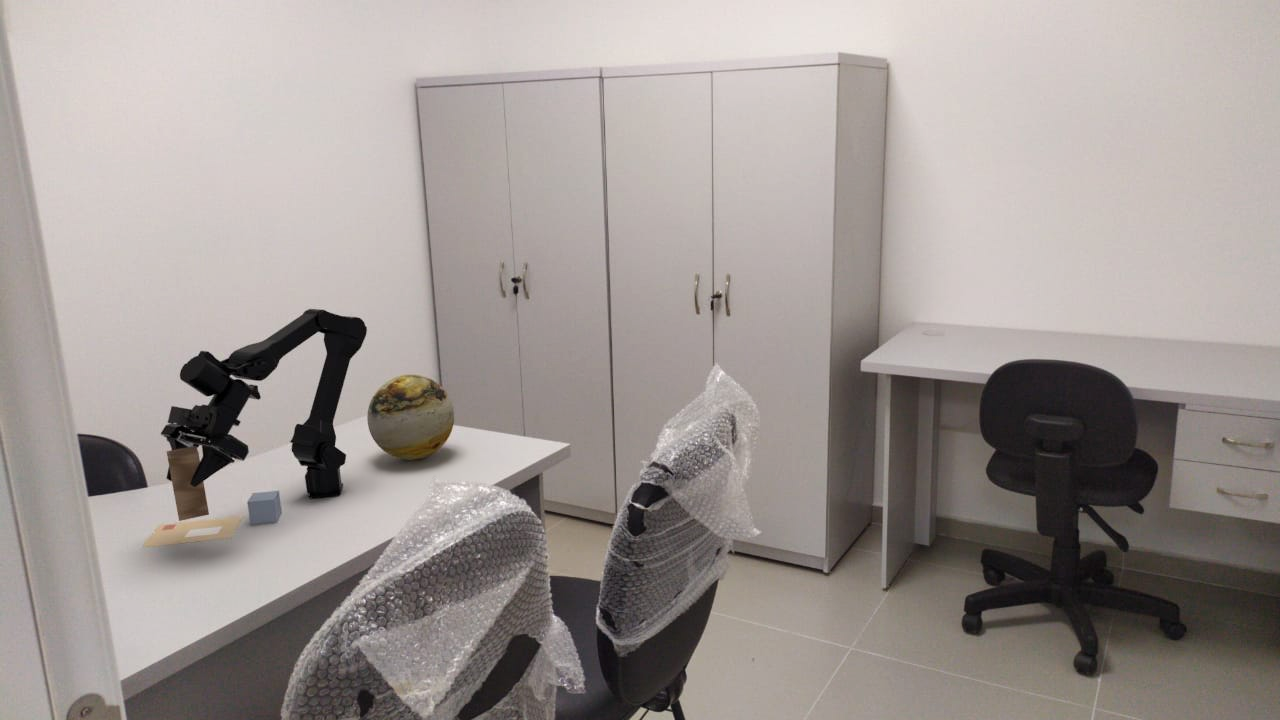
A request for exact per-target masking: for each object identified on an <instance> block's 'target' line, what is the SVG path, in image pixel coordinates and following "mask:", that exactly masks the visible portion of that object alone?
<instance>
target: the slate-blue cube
mask: <svg viewBox="0 0 1280 720" xmlns="http://www.w3.org/2000/svg"><path fill="white" fill-rule="evenodd" d="M246 504H247V509H248V518H249V524H250V526H256V525H266V524H276V523H278V522H279V520H280V518H281V516H282V514H283V511H282V505H281V497H280V490H272V491H271V490H270V491H260V492H253V493H252V494H251V495H250V497H249V498H248V500H247V503H246Z"/></svg>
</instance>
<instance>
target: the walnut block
mask: <svg viewBox="0 0 1280 720" xmlns="http://www.w3.org/2000/svg"><path fill="white" fill-rule="evenodd" d="M199 454H200V453H199V450H198V448H197V446H192V447H187V448H182V449H176V450H172V449H171V450H167V451H166V456H167V462H168V468H170V473H171V479H172V481H171V484H172V485H171V486H172V490H173V495H174V499H175V507H176V511H177V516H178V521H179V522H180V521H181V522H183V521H187V520H190V519H196V518H199V517H200V518H201V517H204V516H209V515H210V512H209V506H208V500H207V493H206V489H205V484H204V481H203V482H202V483H200V484H199V485H198V486H196V487H194V486H192V485H190V483H191V480H192V478H193V476H194V473H195V471H196V469H197V467H198V465H199V463H200V461H201V459H200V455H199Z"/></svg>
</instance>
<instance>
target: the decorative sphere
mask: <svg viewBox="0 0 1280 720" xmlns="http://www.w3.org/2000/svg"><path fill="white" fill-rule="evenodd" d="M453 405H454V404H453V402H452V400H451V397H450V396H449V394H448V393H447V391H446V390H445V388H443V387H442V386H441V385H440V384H439V383H438V382H437V381H435V380H433V379H432V378H429V377H426V376H423V375H419V374H405V375H404V374H403V375H400V376H397V377H394V378H392V379H389V380H388V381H386V382H384V384H383V385H381V386H380V387H379V388H378V389H377V390H376V392H374V395H373V396H372V398H371V399H370V402H369V405H368V409H367V425H368V431H369V433H370V435H371V437H372V440H373V441H374V443H375V444H376V445H377V446H378V447H379V448H380V449H381V450H382V451H383V452H385V453H386V454H388V455H390V456H392V457H395V458H397V459H401V460H409V461H411V460H419V459H424V458H426V457H429V456H431V455H432V454H434V453H436V452H437V451H438V450H440V449H441V448H442V447H443V446H444V445H445V444H446V443H447V441H448V439H449V438H450V436H451V433H452V432H453V428H454V424H455V410H454V406H453Z"/></svg>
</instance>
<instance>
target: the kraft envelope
mask: <svg viewBox="0 0 1280 720" xmlns="http://www.w3.org/2000/svg"><path fill="white" fill-rule="evenodd" d="M243 518H244V515H240V516H239V515H238V516H228V517H220V518H212V519H200V520H192V521H184V522H183V521H181V522H174V523H164V524H158V525H157V527H156V528H155V529H154V530H153V532H155V533H153V532H152V533H151V534H150V535H149V537H148V538H147V539H146V540H145V541H144V543H143V544H142V545H143V546H142V545H141V547H143V548H151V547H161V546H169V545H178V544H186V543H196V542H206V541H215V540H222V539H232V537H233V534H235V531H236V530H237V528H238V526H239V524H240V522H241V521H242V519H243Z"/></svg>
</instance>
